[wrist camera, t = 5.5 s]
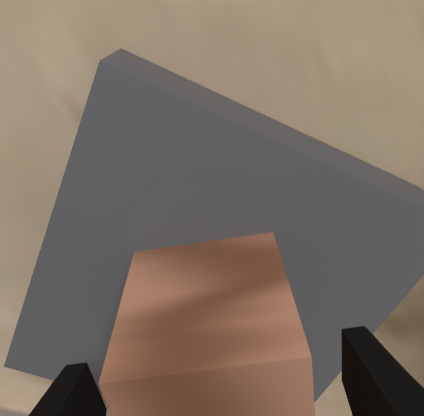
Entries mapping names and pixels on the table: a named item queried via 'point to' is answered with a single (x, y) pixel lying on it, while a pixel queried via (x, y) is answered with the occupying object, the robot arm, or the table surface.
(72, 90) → the table surface
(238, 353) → the terracotta cube
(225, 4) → the table surface
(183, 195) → the charcoal plinth
